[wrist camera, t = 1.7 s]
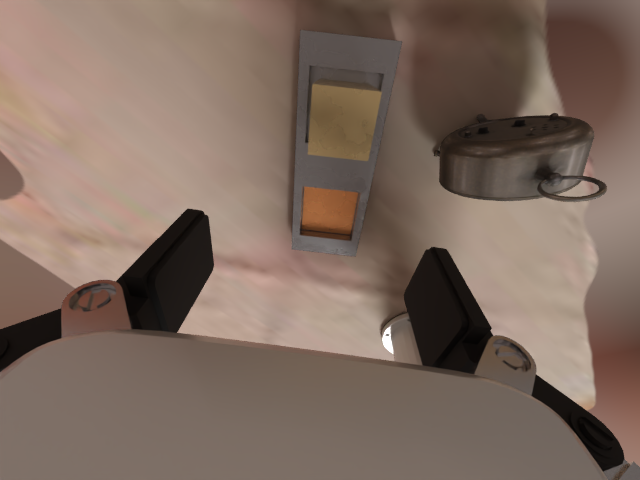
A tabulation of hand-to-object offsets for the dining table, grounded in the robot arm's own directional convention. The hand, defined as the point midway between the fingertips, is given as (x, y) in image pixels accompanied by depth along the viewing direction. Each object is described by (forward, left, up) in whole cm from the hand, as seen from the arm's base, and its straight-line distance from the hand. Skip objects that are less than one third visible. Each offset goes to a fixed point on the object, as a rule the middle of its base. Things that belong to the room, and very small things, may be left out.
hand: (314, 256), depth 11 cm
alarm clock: (-16, -2, -23) cm, 28 cm away
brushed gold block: (-1, -3, -22) cm, 22 cm away
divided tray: (-1, +3, -23) cm, 23 cm away
